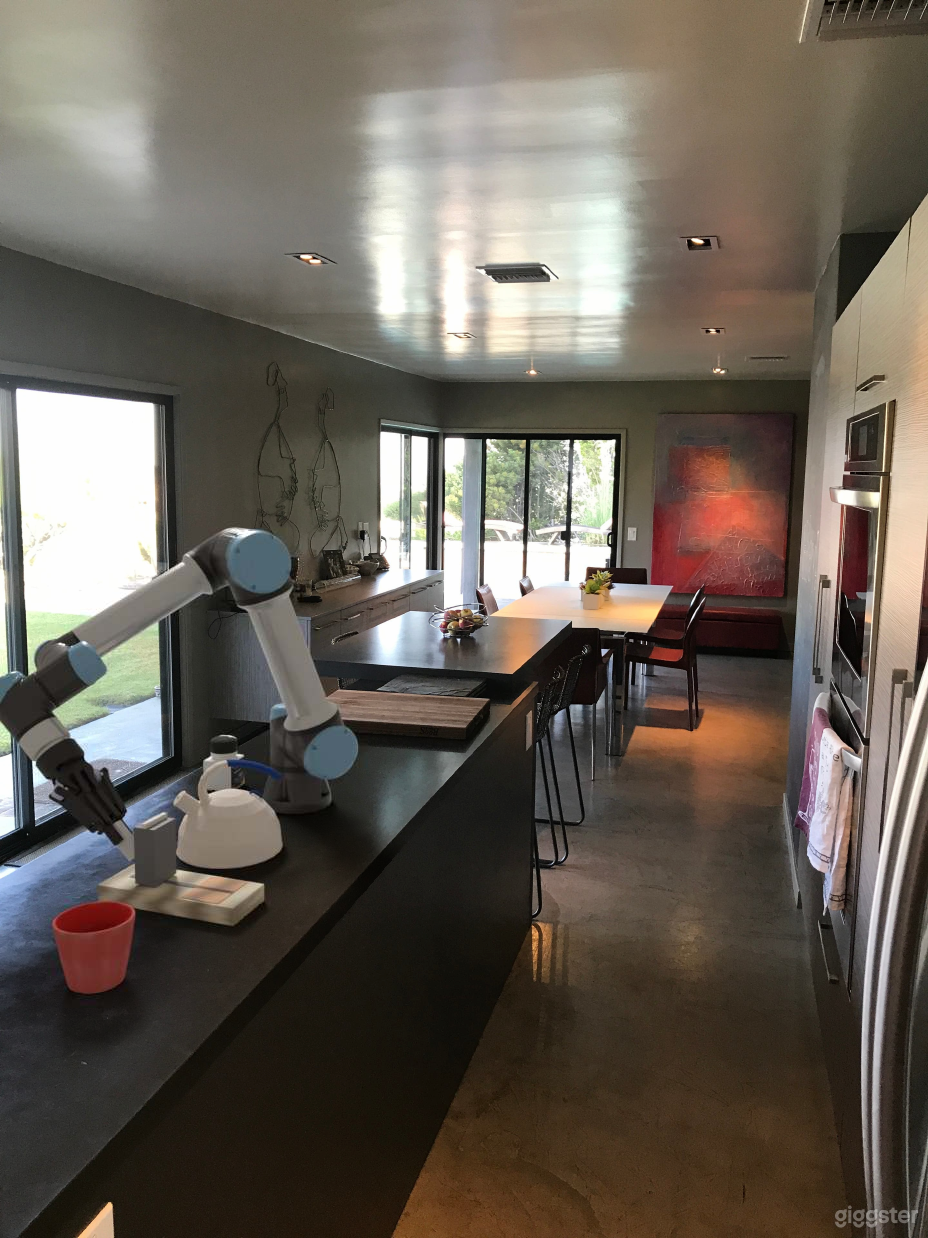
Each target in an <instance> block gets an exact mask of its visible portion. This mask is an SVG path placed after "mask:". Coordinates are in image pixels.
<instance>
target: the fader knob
mask: <svg viewBox="0 0 928 1238" xmlns="http://www.w3.org/2000/svg"><path fill="white" fill-rule="evenodd" d="M176 832H177V831H176V818H175V817H168V812H165V811H163V812H161V813H159V814H157V815H154V816H152V817H150V818H148V819H146V820H144V821H143V822H140V823H138V824H137V825H135V826H133V836H134V863H135V884H140V885H146V886H152V887H156V886H158V885H159V884H161V883H163V882H164V881H166V880H167V879H169V878H170V877H172V876H173V875H175V874H176V870H177V854H176V853H177V846H176V845H177V839H176V837H177V836H176Z"/></svg>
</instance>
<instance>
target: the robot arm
mask: <svg viewBox="0 0 928 1238" xmlns="http://www.w3.org/2000/svg"><path fill="white" fill-rule="evenodd" d="M291 558H292V557H291V554H290V551H289V550H288V547H287V546H286V545H285V543H284V542H283V541H282V540H281V539H280V538H278V537H277V536H275V534H273V533H271V532H268V531H266V530H263V529H259V528H253V529H252V528H245V527H241V526H240V527H237V526H235V527H229V528H225V529H223V530H221V531H220V532H217V533H215V534H214V535H212V536H211V537H209V538H207V539H206V540H205V541H202V543H200V544H199V545H197V546H195V547H194V548H192V549H191V550H189V551H188V552H186V553H185V554H183V555H182V560H181V562H179V563H177V565H174V566H173V567H171V568H170V569H168V570H167V571H165V572H163V573H162V574H159V575H158V576H157V577H155V578H154V579H152V580H150V581H148V582H147V583H145V584H143V586H140V587H139V588H137V589H136V590H133V591H132V592H131V593H129V594H128V595H126V596H124V597H123V598H121V599H119V600H118V601H116V602H115V603H113V604H112V605H110V606H108V607H106V608H105V609H103V610H102V611H100V612H98V613H96V615H94V616H92V617H90V618H88V619H87V620H85V621H84V622H82V623H81V624H79V625H77V626H76V627H74V628H73V629H71V630H70V631H67V632H65V633H64V634H62V635H60V636H59V637H58V638H52V639H47V640H45V641H43V642H42V643H40V644H39V646H37V648H36V649H35V651H34V655H33V662H34V665H35V666H34V667H35V668H36V670H35V671H34V672H32V673H31V674H29V675H27V676H26V675H25V674H23V673H22V672H21V671H19V670H18V671H17V670H16V671H10V672H8V673H6V674H5V675H1V676H0V723H1V724H2V725H3V726H4V728H5V729H6V730H7V731H8V733H9V734H10V736H11V737H12V738H13V739H14V740H15V741H16V742H17V744H19V746H20V747H21V748H22V750H23V751H24V752H25V753H26V755H27V757H28V758H29V759H30V760H31V761H32V762H35V767H36V768H37V769H38V771H39V772H40V773H41V775H42V776H43V777H44V778H45V779H46V780H47V781H51V783H52V785H53V789H52V792H51V793H50V794H48V799H49V800H51V801H52V802H54V803H56V804H58V805H60V806H61V807H62V808H63V809H64V810H65V811H67V812H68V813H69V815H71V816H72V817H73V818H74V819H75V820H76V821H78V822H79V823H80V824H81V825H82V826H83V827H84V828H85V829H86V830H88V831H89V832H90V833H92V834H95V833H96V832H97V833H96V834H97V835H99V836H102V835H103V834H104V835H105V836H106V837H107V839H108V840H109V841H110V842H111V844H112V845H113V846H115V847H117V848H118V849H119V851H120V852H121V853H122V854H123V856H124V857H125V858H126V859H127V861H128V862H131V861H132V860H133V859H134V832H133V831H132V830H131V829H130V827H129V826H128V825H127V824H126V822H125V821H124V817H126V814H127V813H128V810H127V808H126V806H125V803H124V801H123V800H122V797H121V796H120V794H119V793H118V790H117V788H115V785H114V783H113V782H112V780H111V777H110V772H109V769H108V768H107V767H105V766H103V767H102V768H101V769H99V768H98V769H97V768H94V767H93V765H92V764H91V763H89V762H88V761H87V760H86V759H85V751H84V749H83V748H82V747H81V745H80V744H79V743H78V742H77V741H76V739H74V738H72V737H71V736H72V735H71V733H70V731H69V730H68V729H67V728H66V726H65V725H64V724H63V723H62V721H60V719H59V718H58V717H57V715H56V714H55V713H54V711H55V710H57V709H58V708H60V707H61V706H63V705H64V704H66V703H67V702H68V701H70V700H71V699H73V698H75V697H76V696H78V695H79V694H81V693H82V692H83V691H85V690H86V689H87V688H89V687H91V686H93V685H95V684H96V682H98V681H99V680H100V679H102V678H103V677H104V676H105V675H106V674H107V672H108V667H107V665H106V663H105V662H104V661H103V659H102V657H105V656H106V655H108V654H109V653H112V651H114V650H115V649H117V648H119V647H120V646H123V644H125V643H127V642H128V641H130V640H131V639H133V638H135V637H136V636H138V635H139V634H141V633H143V632H144V631H146V630H147V629H149V628H151V627H152V626H154V625H155V624H157V623H158V622H161V621H162V620H163V619H165V618H166V617H168V616H169V615H171V614H173V613H174V612H176V611H177V610H179V609H181V608H182V607H184V606H185V605H187V604H188V603H190V602H192V601H193V600H195V599H196V598H198V597H200V596H201V595H202V594H203V595H204V594H205V595H212V594H213V593H215V592H217V591H218V590H220V589H223V588H224V587H229V588H230V591H231V593H232V595H233V599H234V600H235V603H236V605H237V607H238V608H240V609H243V610H245V611H247V614H248V616H249V618H250V620H251V623H252V626H253V628H254V631H255V634H256V636H257V639H258V641H259V644H260V647H261V649H262V652H263V654H264V657H265V659H266V662H267V665H268V667H269V670H270V672H271V675H272V677H273V681H274V683H275V685H276V688H277V690H278V694H279V696H280V698H281V700H282V703H277V704H274V705H273V706H272V707H271V709H270V717H269V735H270V736H269V738H270V739H269V740H270V742H269V743H270V744H269V747H270V755H269V756H270V768H272V769H274V770H275V771H277V772H278V773H279V774H281V775H282V777H281V778H280V779H273V778H272V777H271V776H270V775H268V778H267V781H266V783H265V786H264V789H263V791H262V792H263V793H262V799H263V800H264V801H265V802H266V803H267V804H268V805H269V806H270V807H271V808H272V809H273V810H274V812H275V813H277V814H278V813H279V814H285V815H301V814H309V813H310V812H311V813H314V812H319V811H322V810H324V809H326V808H328V807H329V806H330V805H331V804H332V792H331V788H330V785H329V782H328V780H334V779H337V778H339V777H341V776H343V775H344V774H346V773H347V772H348V771H350V769H351V768H352V766H354V762H355V761H356V759H357V757H358V753H359V744H358V743H359V742H358V739H357V736H356V734H355V733H354V732H353V731H352V730H351V729H350V728H349V727H347V726H345V724H344V720H343V718H342V715H341V712H340V709H339V707H338V705H337V703H335V702H332V701H329V700H328V698H327V695H326V692H325V690H324V688H323V684H322V683H321V682H322V681H321V679H320V677H319V673H318V672H317V668H316V666H315V663H314V660H313V658H312V655H311V653H310V650H309V648H308V644H307V641H306V639H305V636H304V633H303V631H302V628H301V626H300V622H299V619H298V617H297V615H296V611H295V609H294V606H293V603H292V600H291V598H290V594H291V593H292V591H293V588H294V584H293V581H292V578H291V576H290V573H291V569H292V559H291ZM330 803H331V804H330ZM327 806H328V807H327ZM318 810H319V811H318ZM134 860H135V859H134Z"/></svg>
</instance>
